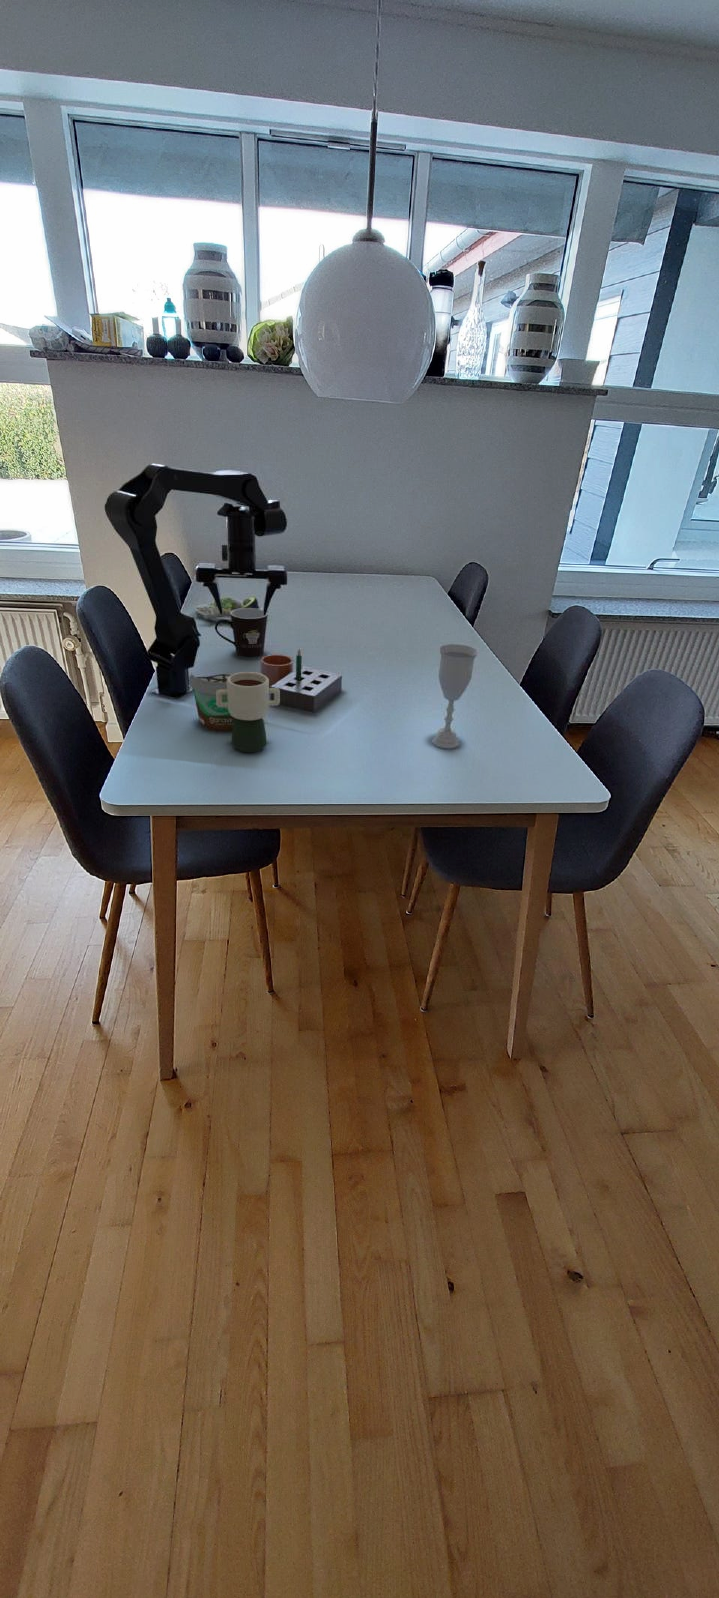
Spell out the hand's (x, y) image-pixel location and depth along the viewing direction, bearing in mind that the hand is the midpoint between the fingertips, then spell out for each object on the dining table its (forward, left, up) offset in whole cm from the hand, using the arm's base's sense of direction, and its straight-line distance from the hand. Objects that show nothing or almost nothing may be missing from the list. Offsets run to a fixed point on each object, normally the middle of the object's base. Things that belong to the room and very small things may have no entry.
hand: (243, 614), depth 148 cm
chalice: (-12, -51, -13) cm, 54 cm away
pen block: (-7, -19, -13) cm, 24 cm away
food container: (-27, -12, -13) cm, 32 cm away
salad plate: (+36, +26, -13) cm, 46 cm away
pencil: (-7, -17, -13) cm, 22 cm away
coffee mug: (+10, +6, -13) cm, 18 cm away
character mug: (-32, -20, -13) cm, 40 cm away
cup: (-2, -9, -13) cm, 16 cm away
